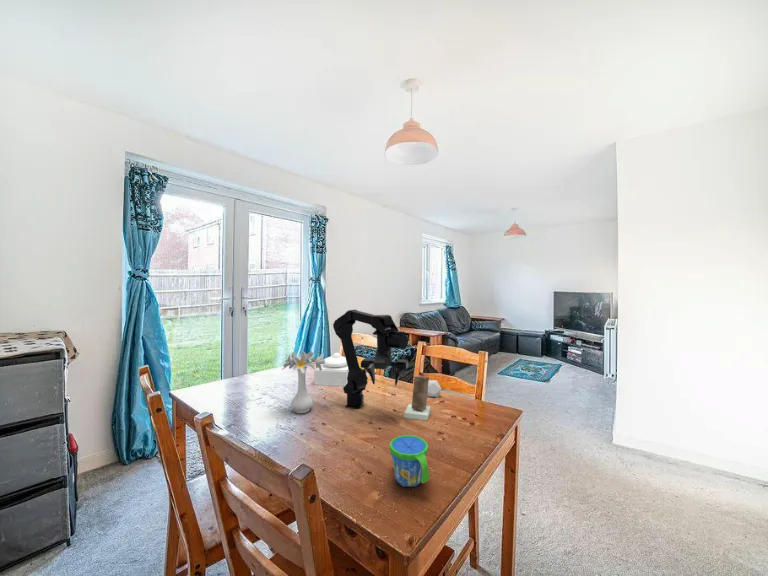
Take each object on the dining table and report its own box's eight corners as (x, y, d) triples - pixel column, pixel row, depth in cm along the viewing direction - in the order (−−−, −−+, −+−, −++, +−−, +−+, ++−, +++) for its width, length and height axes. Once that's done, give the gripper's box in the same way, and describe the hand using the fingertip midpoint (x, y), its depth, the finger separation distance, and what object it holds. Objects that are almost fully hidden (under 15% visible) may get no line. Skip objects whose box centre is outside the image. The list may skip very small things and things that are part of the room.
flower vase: (329, 406, 139) (328, 350, 138) (293, 421, 124) (293, 358, 124) (310, 399, 147) (310, 346, 146) (275, 413, 133) (274, 353, 132)
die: (436, 403, 143) (446, 384, 146) (420, 393, 144) (430, 374, 147) (433, 403, 151) (443, 385, 154) (418, 393, 152) (427, 375, 155)
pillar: (411, 408, 127) (414, 376, 128) (415, 405, 131) (418, 375, 132) (422, 410, 125) (424, 378, 126) (426, 408, 129) (428, 377, 130)
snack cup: (440, 491, 83) (440, 453, 83) (405, 503, 79) (405, 463, 78) (411, 460, 97) (411, 428, 97) (380, 469, 93) (380, 435, 93)
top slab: (404, 417, 124) (404, 412, 124) (409, 408, 133) (409, 404, 133) (427, 420, 122) (427, 415, 122) (430, 411, 131) (430, 406, 130)
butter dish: (314, 385, 167) (314, 355, 167) (326, 375, 185) (326, 348, 185) (346, 387, 164) (346, 357, 164) (355, 376, 182) (355, 349, 181)
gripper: (355, 349, 122) (356, 389, 122) (402, 351, 118) (403, 393, 118) (364, 344, 133) (365, 381, 133) (408, 345, 128) (408, 383, 129)
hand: (384, 384), depth 128 cm, fingers open, 9 cm apart
